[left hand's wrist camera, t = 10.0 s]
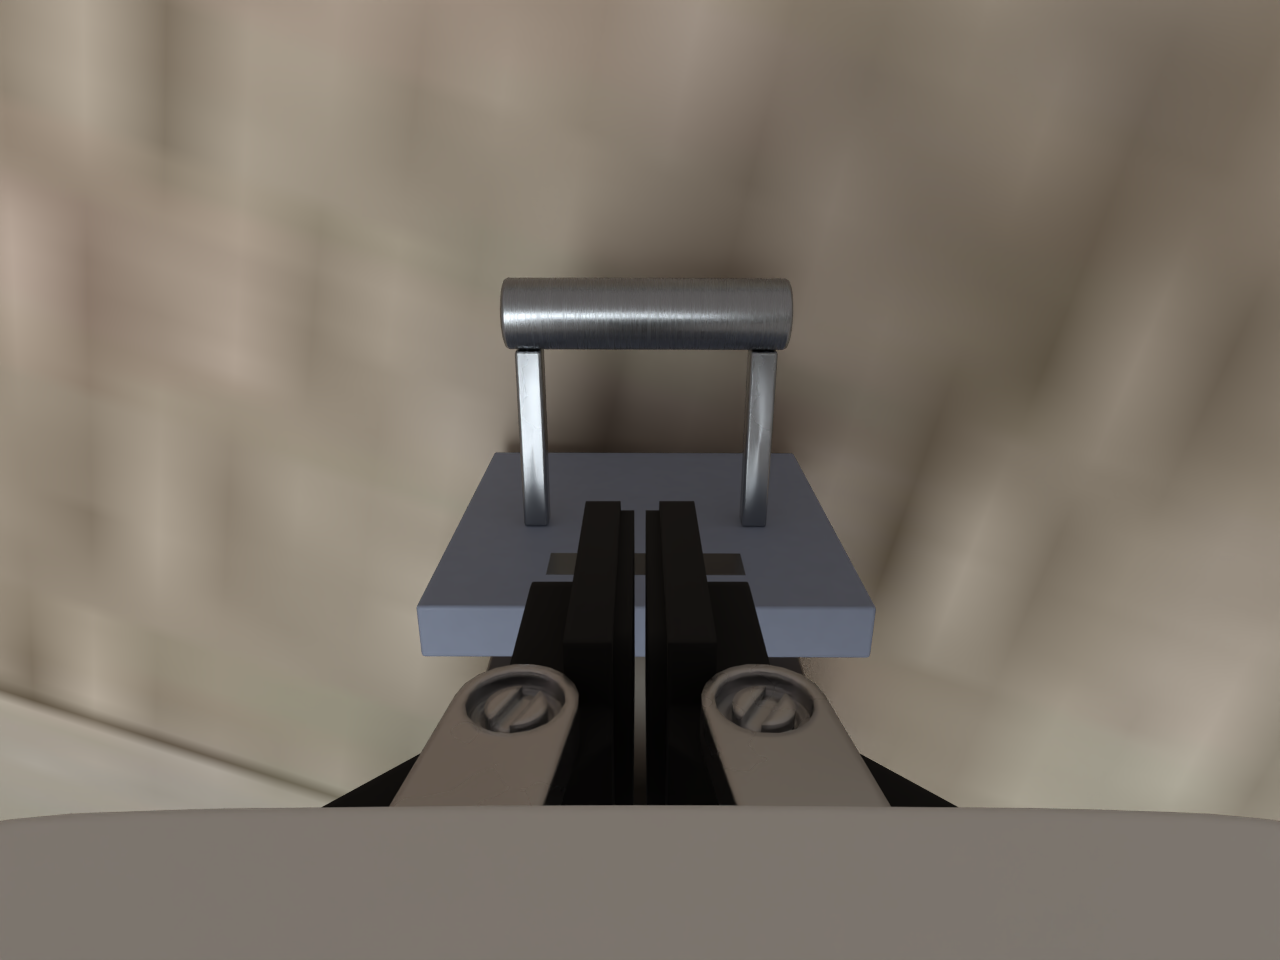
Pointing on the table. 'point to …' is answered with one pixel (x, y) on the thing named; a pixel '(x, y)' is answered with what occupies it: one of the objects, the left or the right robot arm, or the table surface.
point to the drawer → (647, 484)
